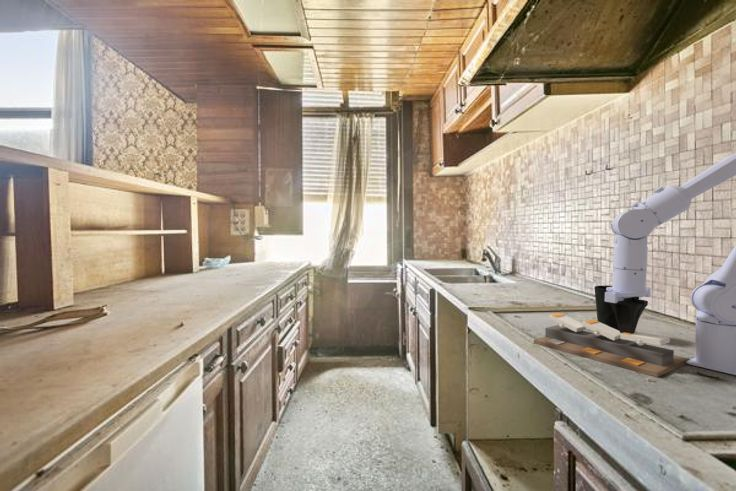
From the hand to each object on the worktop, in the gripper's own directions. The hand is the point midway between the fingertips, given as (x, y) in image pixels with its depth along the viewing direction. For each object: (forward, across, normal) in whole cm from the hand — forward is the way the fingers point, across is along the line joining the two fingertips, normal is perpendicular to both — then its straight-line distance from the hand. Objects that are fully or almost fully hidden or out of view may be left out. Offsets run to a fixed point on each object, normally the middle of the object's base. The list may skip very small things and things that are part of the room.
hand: (626, 333), depth 78 cm
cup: (+5, -16, -11) cm, 20 cm away
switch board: (+5, 0, -4) cm, 7 cm away
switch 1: (+2, 0, -13) cm, 13 cm away
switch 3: (+1, 0, +3) cm, 3 cm away
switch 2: (+1, 0, -5) cm, 5 cm away
